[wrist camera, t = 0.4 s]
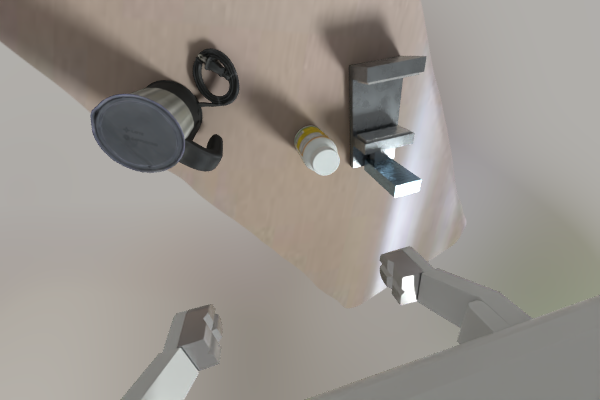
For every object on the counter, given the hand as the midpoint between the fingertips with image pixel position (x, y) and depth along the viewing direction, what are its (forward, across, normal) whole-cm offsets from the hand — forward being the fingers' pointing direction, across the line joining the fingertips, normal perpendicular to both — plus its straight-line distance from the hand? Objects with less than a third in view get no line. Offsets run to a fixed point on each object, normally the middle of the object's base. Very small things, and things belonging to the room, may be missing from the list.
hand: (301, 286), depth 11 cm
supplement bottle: (+38, -10, +3) cm, 39 cm away
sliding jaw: (+36, -24, +7) cm, 44 cm away
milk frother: (+37, +10, -9) cm, 39 cm away
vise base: (+37, -24, +1) cm, 44 cm away
